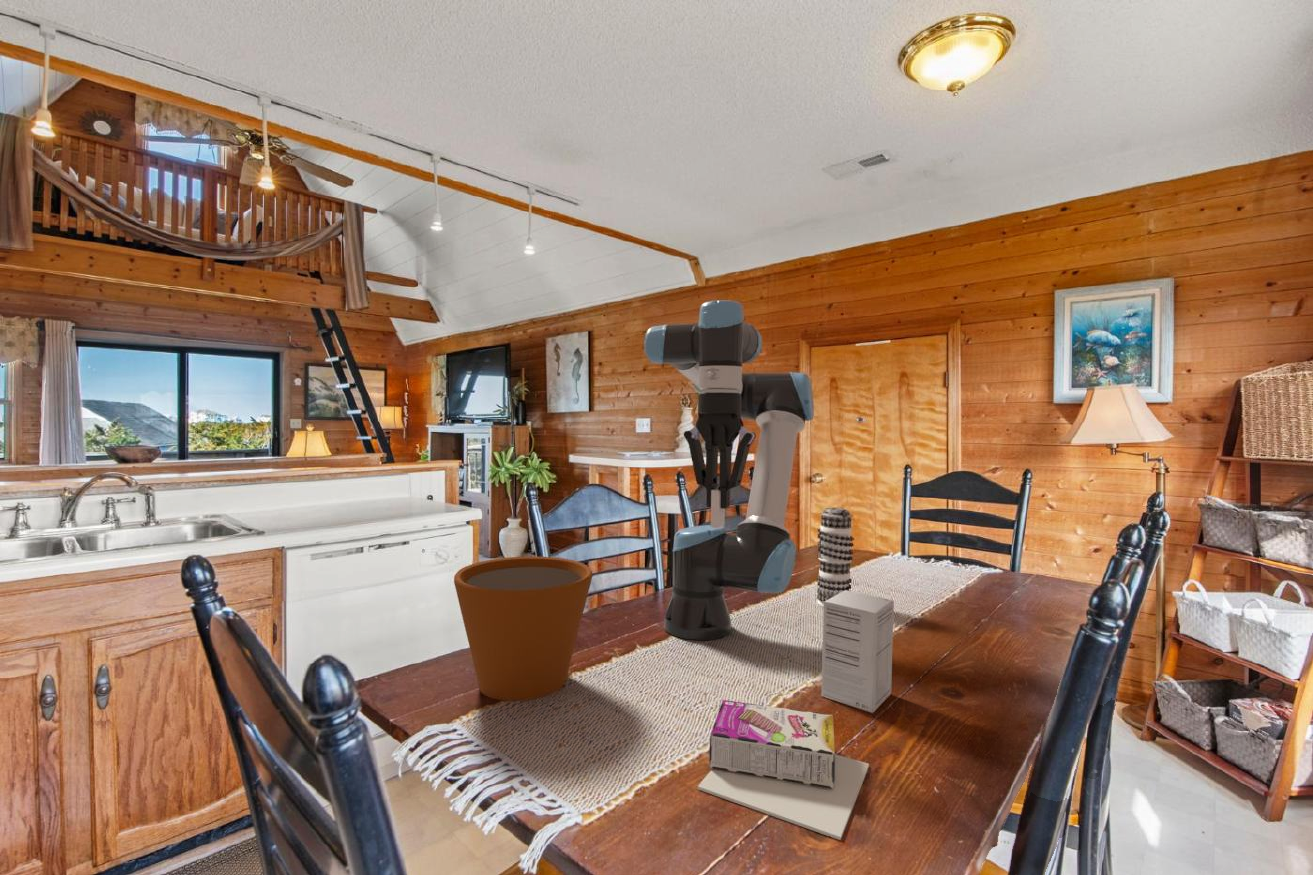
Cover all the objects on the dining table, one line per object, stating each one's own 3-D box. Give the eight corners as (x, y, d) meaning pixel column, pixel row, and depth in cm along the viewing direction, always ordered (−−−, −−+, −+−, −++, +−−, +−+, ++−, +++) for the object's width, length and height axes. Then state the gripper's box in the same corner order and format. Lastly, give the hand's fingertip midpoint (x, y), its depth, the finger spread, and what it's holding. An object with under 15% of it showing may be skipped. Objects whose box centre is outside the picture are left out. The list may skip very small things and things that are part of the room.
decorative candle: (808, 600, 160) (811, 506, 159) (838, 597, 163) (841, 505, 162) (828, 611, 151) (830, 512, 150) (859, 608, 154) (862, 511, 153)
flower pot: (573, 650, 122) (575, 553, 122) (606, 702, 100) (608, 583, 100) (450, 665, 114) (451, 560, 113) (456, 726, 92) (457, 596, 91)
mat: (697, 789, 77) (697, 786, 77) (746, 730, 92) (746, 728, 92) (840, 840, 68) (840, 837, 68) (868, 766, 83) (868, 763, 83)
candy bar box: (721, 696, 91) (833, 713, 87) (720, 729, 92) (832, 747, 87) (709, 732, 81) (836, 753, 76) (708, 769, 81) (835, 792, 77)
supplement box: (841, 679, 111) (844, 588, 111) (892, 694, 105) (895, 599, 105) (819, 696, 104) (822, 600, 103) (873, 714, 98) (876, 612, 97)
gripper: (676, 391, 104) (674, 526, 105) (747, 391, 98) (745, 534, 99) (695, 392, 111) (693, 519, 112) (762, 392, 104) (760, 526, 106)
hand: (717, 526), depth 106 cm, fingers closed
